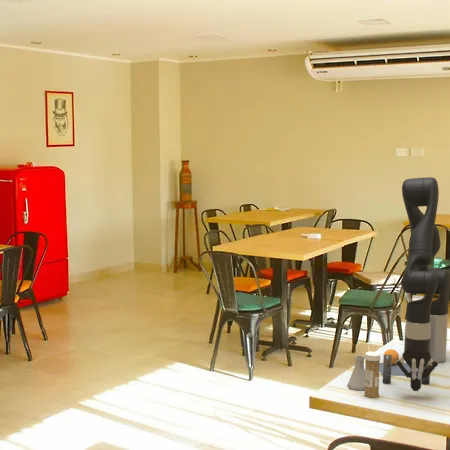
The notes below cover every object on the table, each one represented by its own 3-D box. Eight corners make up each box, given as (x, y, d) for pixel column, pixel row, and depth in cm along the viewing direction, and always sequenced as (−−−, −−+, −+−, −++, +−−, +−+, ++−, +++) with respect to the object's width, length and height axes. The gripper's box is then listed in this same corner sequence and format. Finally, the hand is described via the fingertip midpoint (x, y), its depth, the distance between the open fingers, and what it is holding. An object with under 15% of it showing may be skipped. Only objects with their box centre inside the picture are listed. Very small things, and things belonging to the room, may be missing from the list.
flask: (370, 392, 223) (371, 361, 222) (346, 390, 225) (347, 359, 224) (370, 384, 230) (371, 354, 229) (347, 382, 232) (348, 352, 231)
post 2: (420, 382, 233) (421, 355, 232) (428, 382, 233) (429, 355, 232) (422, 384, 230) (423, 357, 229) (430, 384, 230) (431, 357, 229)
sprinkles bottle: (381, 397, 218) (383, 354, 217) (367, 398, 217) (369, 355, 216) (375, 392, 223) (376, 350, 221) (361, 393, 222) (362, 351, 220)
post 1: (381, 381, 233) (382, 354, 232) (389, 381, 233) (390, 354, 232) (383, 383, 231) (384, 356, 230) (391, 384, 231) (392, 357, 230)
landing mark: (375, 363, 252) (375, 362, 252) (412, 364, 252) (412, 363, 252) (381, 375, 239) (381, 374, 239) (420, 376, 239) (420, 375, 239)
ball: (382, 364, 253) (381, 349, 254) (397, 365, 253) (397, 349, 254) (385, 364, 248) (384, 348, 249) (400, 364, 248) (400, 349, 249)
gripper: (436, 332, 220) (434, 386, 222) (393, 331, 221) (391, 385, 223) (442, 339, 213) (440, 395, 215) (398, 338, 213) (396, 394, 215)
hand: (415, 390), depth 219 cm, fingers closed
